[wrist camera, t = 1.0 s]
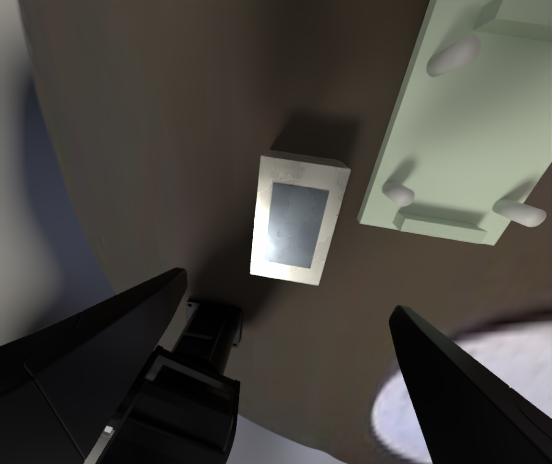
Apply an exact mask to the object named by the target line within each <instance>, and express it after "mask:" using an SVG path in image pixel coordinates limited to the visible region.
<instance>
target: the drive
mask: <svg viewBox="0 0 552 464" xmlns="http://www.w3.org/2000/svg"><path fill="white" fill-rule="evenodd" d="M350 171H351V169H350V168H349V167H347V166H346V165H345V164H343V163H342V162H341V161H339V160H335V159H328V158H322V157H315V156H308V155H301V154H295V153H288V152H281V151H275V150H269V151H267V152H266V153H264V154H263V155H261V159H260V170H259V181H258V192H257V202H256V213H255V224H254V235H253V245H252V256H251V267H250V274H253V275H259V276H265V277H271V278H277V279H283V280H289V281H295V282H301V283H307V284H313V285H319V281H320V278H321V274H322V271H323V267H324V264H325V260H326V256H327V253H328V249H329V246H330V242H331V239H332V235H333V232H334V228H335V224H336V221H337V217H338V214H339V210H340V207H341V203H342V200H343V196H344V192H345V189H346V185H347V182H348V178H349V175H350Z"/></svg>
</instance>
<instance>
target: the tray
mask: <svg viewBox="0 0 552 464" xmlns="http://www.w3.org/2000/svg"><path fill="white" fill-rule="evenodd" d="M551 162H552V0H430V2H429V5H428V8H427V11H426V14H425V17H424V20H423V23H422V26H421V29H420V32H419V35H418V38H417V41H416V44H415V47H414V50H413V53H412V56H411V59H410V62H409V65H408V68H407V71H406V74H405V77H404V80H403V82H402V85H401V88H400V91H399V94H398V97H397V100H396V103H395V106H394V109H393V112H392V115H391V118H390V121H389V124H388V127H387V130H386V133H385V136H384V139H383V142H382V145H381V148H380V151H379V154H378V157H377V160H376V163H375V166H374V169H373V172H372V175H371V178H370V181H369V184H368V187H367V190H366V193H365V196H364V199H363V202H362V205H361V208H360V211H359V214H358V217H357V220H358V221H359V223H360V224H366V225H372V226H379V227H385V228H391V229H397V230H400V231H405V232H411V233H417V234H423V235H429V236H435V237H441V238H447V239H454V240H460V241H466V242H472V243H478V244H481V243H483V244H489V245H494V244H495V243H496V242H497V240H498V239H499V237H500V236H501V234H502V233H503V231H504V230H505V229H506V227H507V226H508V224H509V223H510V221H511V220H513V221H516V222H518V223H520V224H523V225H525V226H527V227H534V226H537V225H539V224H541V223H542V222H543V221H544V220H545V218H546V212H545V211H543V210H541V209H538V208H535V207H532V206H529V205H526V204H523V202H524V201H525V200H526V198H527V197H528V195H529V194H530V192H531V191H532V189H533V188H534V187H535V185H536V184H537V182H538V181H539V179H540V178H541V176H542V175H543V174H544V172H545V171H546V169H547V168H548V166H549V165H550V163H551Z"/></svg>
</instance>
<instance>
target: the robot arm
mask: <svg viewBox="0 0 552 464" xmlns="http://www.w3.org/2000/svg"><path fill="white" fill-rule="evenodd" d="M186 288H187V271H186V269H184V268H177V267H176V268H174V269H171V270H169V271H167V272H165V273H163V274H161V275H158V276H156V277H154V278H152V279H150V280H148V281H146V282H143V283H141V284H139V285H137V286H135V287H133V288H130V289H128V290H126V291H124V292H122V293H120V294H118V295H115V296H113V297H111V298H109V299H107V300H105V301H103V302H100V303H98V304H96V305H94V306H92V307H89V308H87V309H85V310H83V311H82V312H79V313H77V314H74V315H72V316H70V317H68V318H66V319H63V320H61V321H59V322H57V323H54V324H52V325H50V326H48V327H46V328H43V329H41V330H38V331H36V332H34V333H31V334H29V335H26V336H24V337H22V338H19V339H17V340H14V341H12V342H10V343H7V344H5V345H2V346H0V464H84V460H86V458H87V457H88V455H89V454H90V452H91V450H92V449H93V447H94V446H95V444H96V442H97V441H98V439H99V437H100V436H101V435H102V436H104V437H107V438H110V440H109V441H108V443H107V445H106V447H105V448H104V450H103V451H102V453H101V455H100V456H99V458H98V460H97V462H96V463H95V464H226V462H227V459H228V457H229V454H230V451H231V448H232V445H233V441H234V437H235V433H236V426H237V415H238V404H239V392H240V381H237V380H233V379H230V378H228V377H226V376H224V375H223V374H224V371H225V367H226V364H227V361H228V358H229V354H230V351H231V348H232V347H234V348H236V347H238V346H239V341H240V330H241V319H242V310H241V309H240V308H237V307H232V306H226V305H220V304H215V303H209V302H203V301H198V300H192V299H189V300H188V301H187V302H186V318H187V324H186V326H185V328H184V329H183V331H182V333H181V335H180V336H179V338H178V340H177V342H176V343H175V345H174V347H173V349H172V350H171V352H170V351H168V350H166V349H163V347H162V346H160V345H158V346H157V347H156V349H155V350H154V348H155V346H156V345H157V343H158V342H159V340H160V338H161V337H162V335H163V333H164V332H165V330H166V329H167V327H168V325H169V324H170V322H171V320H172V318H173V316H174V314H175V312H176V310H177V308H178V305H179V303H180V301H181V299H182V297H183V295H184V293H185V291H186ZM389 326H390V331H391V335H392V339H393V343H394V347H395V352H396V356H397V360H398V363H399V366H400V369H401V372H402V375H403V378H404V381H405V384H406V387H407V390H408V393H409V395H410V398H411V401H412V404H413V407H414V410H415V413H416V416H417V419H418V422H419V425H420V428H421V430H422V433H423V436H424V439H425V442H426V445H427V448H428V451H429V454H430V457H431V460H432V463H433V464H552V419H551V418H550V417H549V416H547V415H546V414H545V413H543V412H542V411H541V410H539V409H538V408H537V407H536V406H534V405H533V404H532V403H530V402H529V401H528V400H526V399H525V398H524V397H523V396H521V395H520V394H519V393H518V392H516V391H515V390H514V389H512V388H510V387H509V386H508V385H507V384H506V383H505V382H504V381H502V380H501V379H500V378H498V377H497V376H496V375H495V374H493V373H492V372H491V371H489V370H488V369H487V368H486V367H484V366H483V365H482V364H481V363H479V362H478V361H477V360H475V359H474V358H473V357H472V356H470V355H469V354H468V353H467V352H465V351H464V350H463V349H461V348H460V347H459V346H458V345H456V344H455V343H454V342H453V341H451V340H450V339H449V338H447V337H446V336H445V335H444V334H442V333H441V332H440V331H439V330H437V329H436V328H435V327H433V326H432V325H431V324H430V323H428V322H427V321H426V320H425V319H423V318H422V317H421V316H419V315H418V314H417V313H416V312H414V311H413V310H412V309H411V308H409V307H407V306H402V305H397V306H396V307H395V309H394V311H393V313H392V315H391V316H390V319H389ZM153 350H154V352H153Z"/></svg>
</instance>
